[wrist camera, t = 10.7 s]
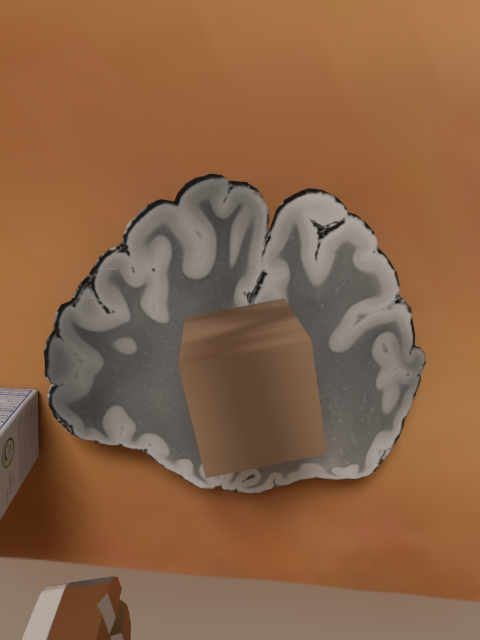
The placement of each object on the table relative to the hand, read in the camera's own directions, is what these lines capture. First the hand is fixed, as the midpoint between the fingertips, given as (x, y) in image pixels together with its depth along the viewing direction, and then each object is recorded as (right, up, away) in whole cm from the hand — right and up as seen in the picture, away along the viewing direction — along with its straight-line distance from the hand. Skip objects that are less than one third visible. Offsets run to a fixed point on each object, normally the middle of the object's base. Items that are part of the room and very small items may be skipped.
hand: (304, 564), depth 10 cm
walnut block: (-1, +4, +13) cm, 14 cm away
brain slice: (-1, +5, +16) cm, 17 cm away
